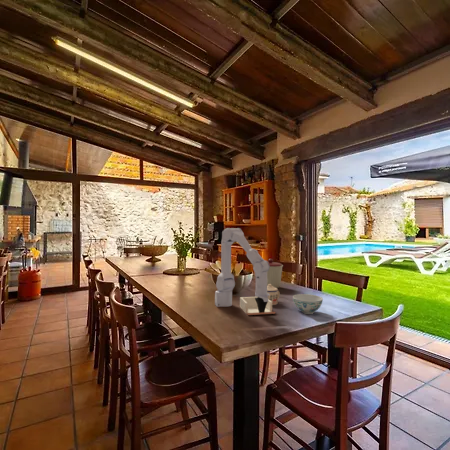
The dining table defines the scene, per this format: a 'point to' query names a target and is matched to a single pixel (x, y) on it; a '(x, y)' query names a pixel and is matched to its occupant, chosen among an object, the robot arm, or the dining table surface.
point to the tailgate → (260, 313)
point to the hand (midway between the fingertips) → (261, 312)
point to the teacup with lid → (273, 294)
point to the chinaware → (307, 303)
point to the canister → (274, 273)
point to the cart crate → (253, 305)
